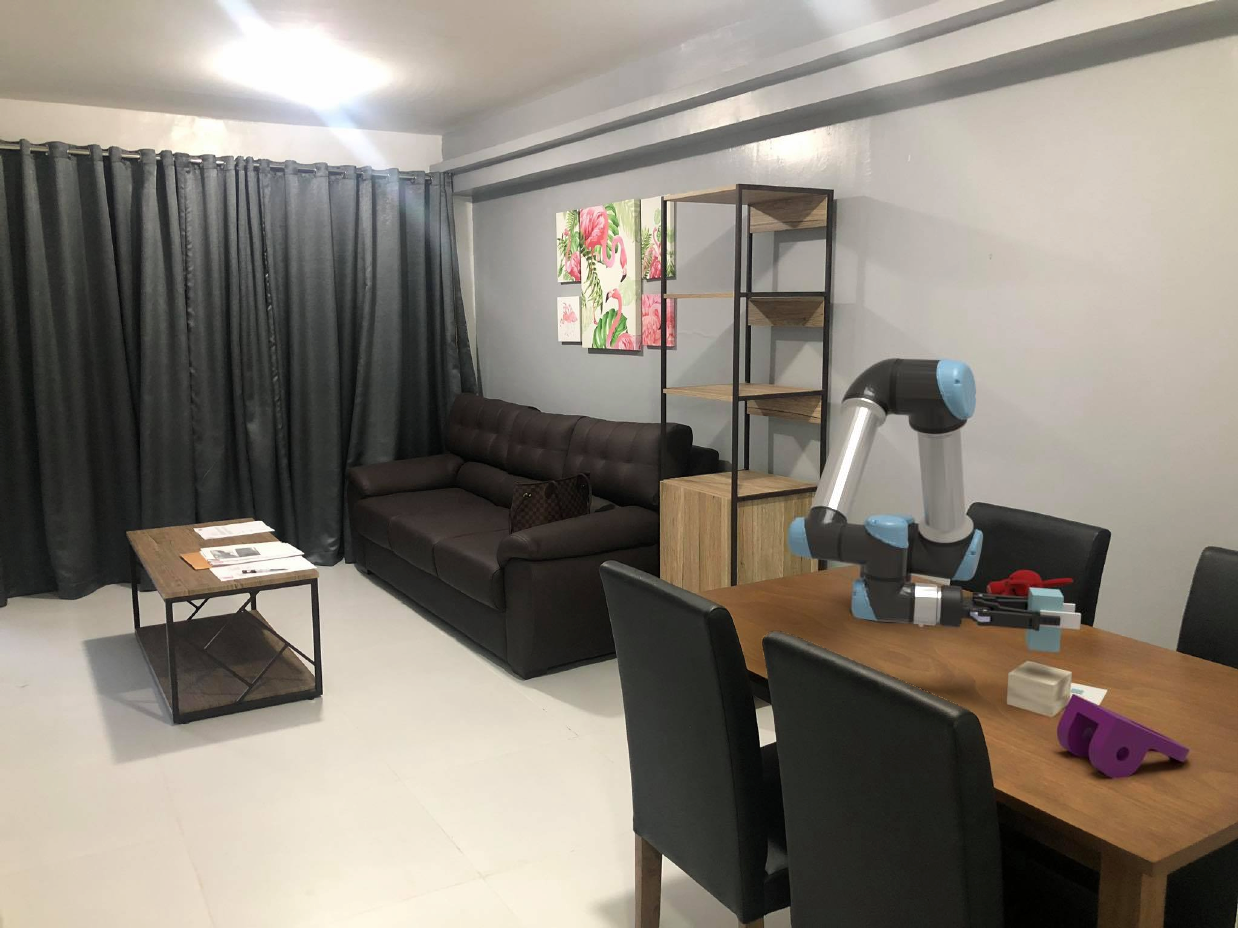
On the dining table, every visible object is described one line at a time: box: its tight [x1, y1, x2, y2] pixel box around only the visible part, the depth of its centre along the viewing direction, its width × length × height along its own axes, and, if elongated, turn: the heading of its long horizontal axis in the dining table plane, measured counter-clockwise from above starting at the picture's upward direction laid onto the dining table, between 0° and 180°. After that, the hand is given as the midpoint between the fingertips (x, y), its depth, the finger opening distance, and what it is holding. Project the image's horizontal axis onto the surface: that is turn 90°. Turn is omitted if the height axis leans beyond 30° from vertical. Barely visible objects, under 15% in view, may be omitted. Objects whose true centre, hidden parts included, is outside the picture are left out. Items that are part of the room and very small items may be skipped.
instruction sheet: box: [1070, 682, 1108, 706], centre depth 181 cm, size 12×9×1 cm
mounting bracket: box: [1056, 694, 1190, 779], centre depth 155 cm, size 10×9×19 cm
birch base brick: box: [1006, 660, 1073, 718], centre depth 176 cm, size 8×8×6 cm
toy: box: [986, 569, 1074, 597], centre depth 223 cm, size 16×12×16 cm
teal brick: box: [1025, 587, 1065, 653], centre depth 174 cm, size 5×5×10 cm
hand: (1076, 616), depth 173 cm, fingers closed on teal brick, 5 cm apart
